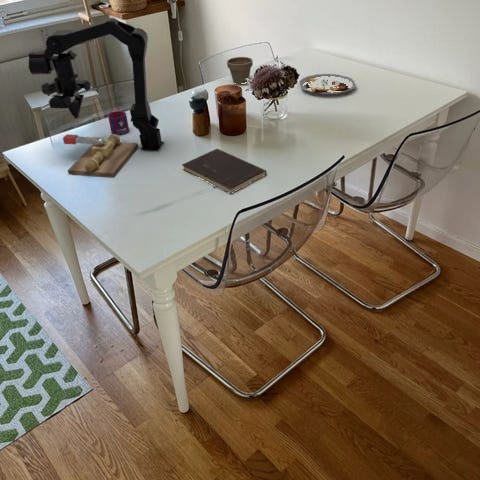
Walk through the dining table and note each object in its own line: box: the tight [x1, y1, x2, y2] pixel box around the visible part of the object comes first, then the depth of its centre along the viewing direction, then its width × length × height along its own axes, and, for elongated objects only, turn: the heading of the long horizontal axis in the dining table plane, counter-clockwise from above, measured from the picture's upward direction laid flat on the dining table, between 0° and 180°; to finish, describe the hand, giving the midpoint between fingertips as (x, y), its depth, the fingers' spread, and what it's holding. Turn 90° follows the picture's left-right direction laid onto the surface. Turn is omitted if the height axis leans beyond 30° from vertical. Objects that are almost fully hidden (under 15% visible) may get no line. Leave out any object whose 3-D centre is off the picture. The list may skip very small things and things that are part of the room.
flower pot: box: [226, 56, 254, 85], centre depth 229 cm, size 12×11×10 cm
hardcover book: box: [181, 148, 268, 194], centre depth 166 cm, size 16×23×2 cm
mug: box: [107, 110, 130, 136], centre depth 195 cm, size 7×10×7 cm
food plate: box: [299, 73, 357, 95], centre depth 222 cm, size 25×23×4 cm
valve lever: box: [62, 134, 106, 145], centre depth 174 cm, size 14×3×2 cm, turn 78°
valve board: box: [67, 133, 139, 178], centre depth 175 cm, size 16×22×6 cm
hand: (76, 118), depth 177 cm, fingers closed
